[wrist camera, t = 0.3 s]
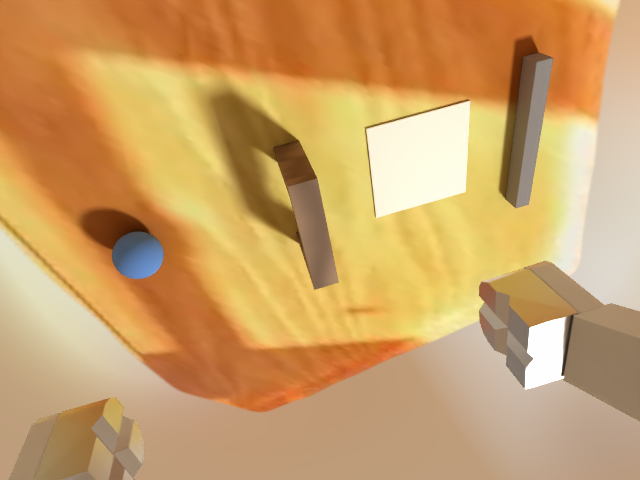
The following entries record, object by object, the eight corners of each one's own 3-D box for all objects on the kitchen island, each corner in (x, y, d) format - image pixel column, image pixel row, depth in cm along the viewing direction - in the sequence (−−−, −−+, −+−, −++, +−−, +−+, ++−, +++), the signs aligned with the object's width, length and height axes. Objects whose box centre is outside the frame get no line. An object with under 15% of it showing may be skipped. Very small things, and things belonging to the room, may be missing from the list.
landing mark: (365, 128, 50) (366, 129, 49) (469, 100, 51) (470, 100, 50) (375, 217, 58) (376, 217, 58) (464, 191, 59) (465, 191, 59)
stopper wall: (523, 56, 49) (536, 62, 47) (538, 52, 49) (553, 57, 47) (505, 199, 61) (515, 208, 59) (518, 195, 62) (528, 204, 60)
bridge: (299, 243, 57) (314, 289, 50) (273, 147, 48) (287, 186, 41) (320, 237, 58) (338, 282, 50) (298, 140, 48) (317, 178, 41)
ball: (107, 229, 49) (98, 259, 45) (153, 216, 50) (149, 244, 46) (128, 264, 53) (122, 294, 49) (171, 251, 53) (170, 280, 49)
